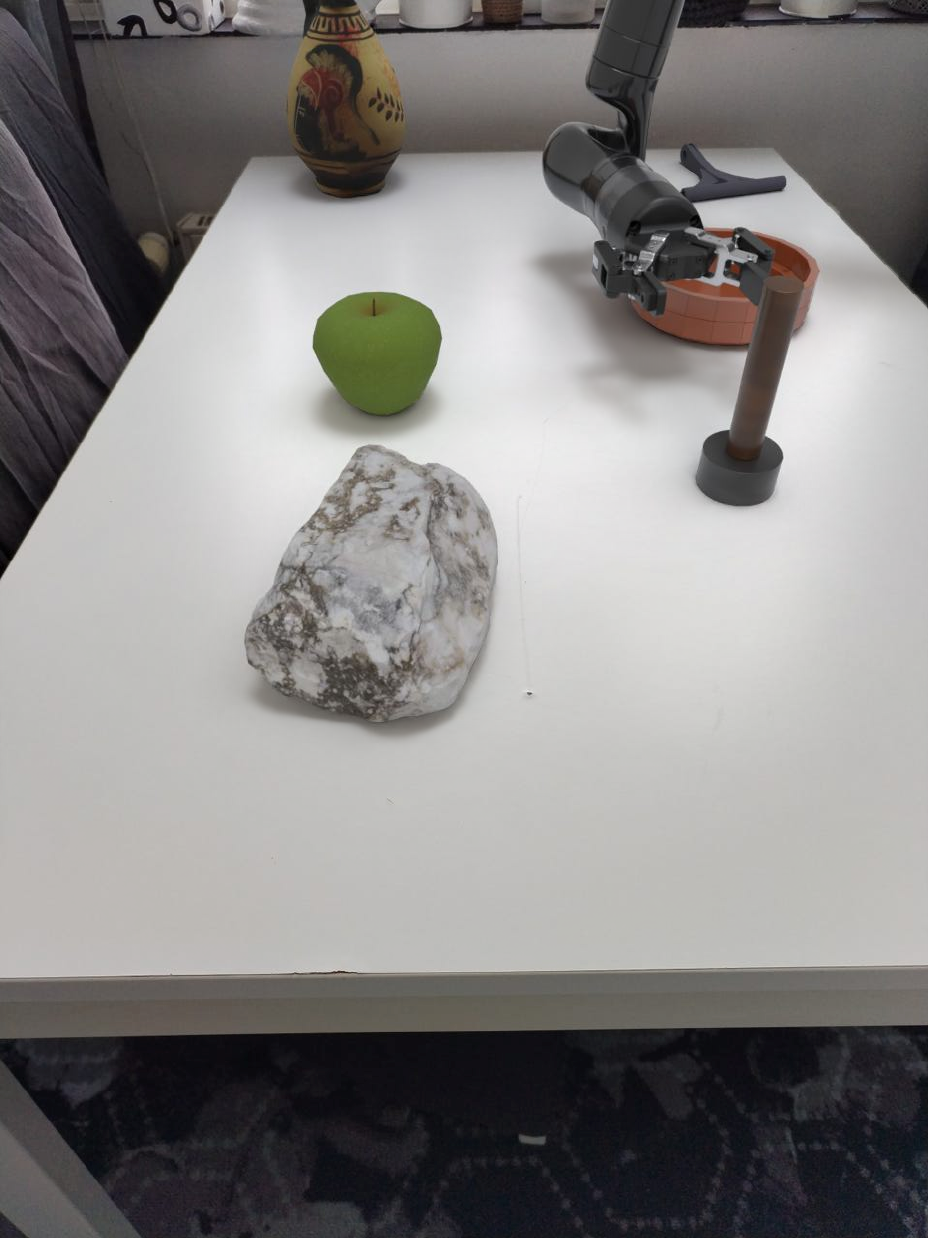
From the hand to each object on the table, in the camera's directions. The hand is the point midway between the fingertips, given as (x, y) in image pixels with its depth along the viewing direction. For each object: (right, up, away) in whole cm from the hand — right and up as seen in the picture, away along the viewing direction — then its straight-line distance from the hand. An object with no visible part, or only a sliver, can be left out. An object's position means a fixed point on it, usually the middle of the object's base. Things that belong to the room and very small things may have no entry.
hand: (713, 299), depth 67 cm
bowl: (+7, +7, +22) cm, 24 cm away
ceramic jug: (-35, +35, +51) cm, 71 cm away
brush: (+2, -14, +1) cm, 14 cm away
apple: (-27, -6, +10) cm, 29 cm away
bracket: (+14, +35, +49) cm, 62 cm away
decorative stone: (-24, -25, -9) cm, 36 cm away
